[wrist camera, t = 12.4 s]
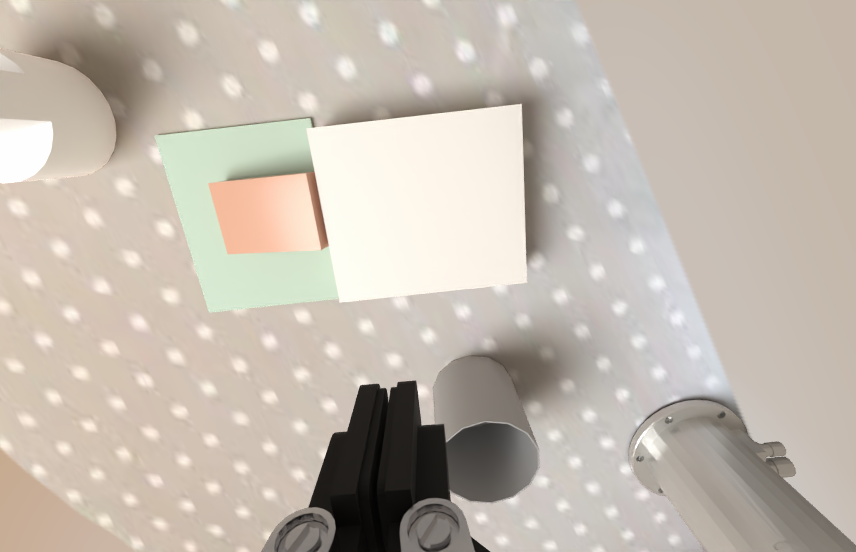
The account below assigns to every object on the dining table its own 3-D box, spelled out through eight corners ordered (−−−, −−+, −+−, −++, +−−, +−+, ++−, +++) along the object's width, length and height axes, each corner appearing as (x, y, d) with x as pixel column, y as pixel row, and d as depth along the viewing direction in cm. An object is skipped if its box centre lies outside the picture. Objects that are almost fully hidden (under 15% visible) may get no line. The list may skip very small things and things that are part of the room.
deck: (509, 108, 33) (521, 103, 29) (515, 268, 37) (526, 282, 33) (319, 130, 33) (306, 128, 29) (347, 286, 37) (339, 302, 34)
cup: (418, 401, 42) (417, 477, 32) (460, 342, 40) (473, 404, 30) (483, 435, 43) (501, 517, 34) (528, 379, 41) (560, 450, 32)
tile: (318, 170, 31) (305, 173, 30) (332, 243, 33) (321, 250, 32) (225, 180, 34) (207, 183, 32) (243, 247, 36) (227, 254, 34)
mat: (311, 118, 33) (309, 117, 32) (344, 296, 38) (343, 298, 37) (156, 135, 33) (154, 135, 33) (210, 311, 38) (209, 312, 38)
